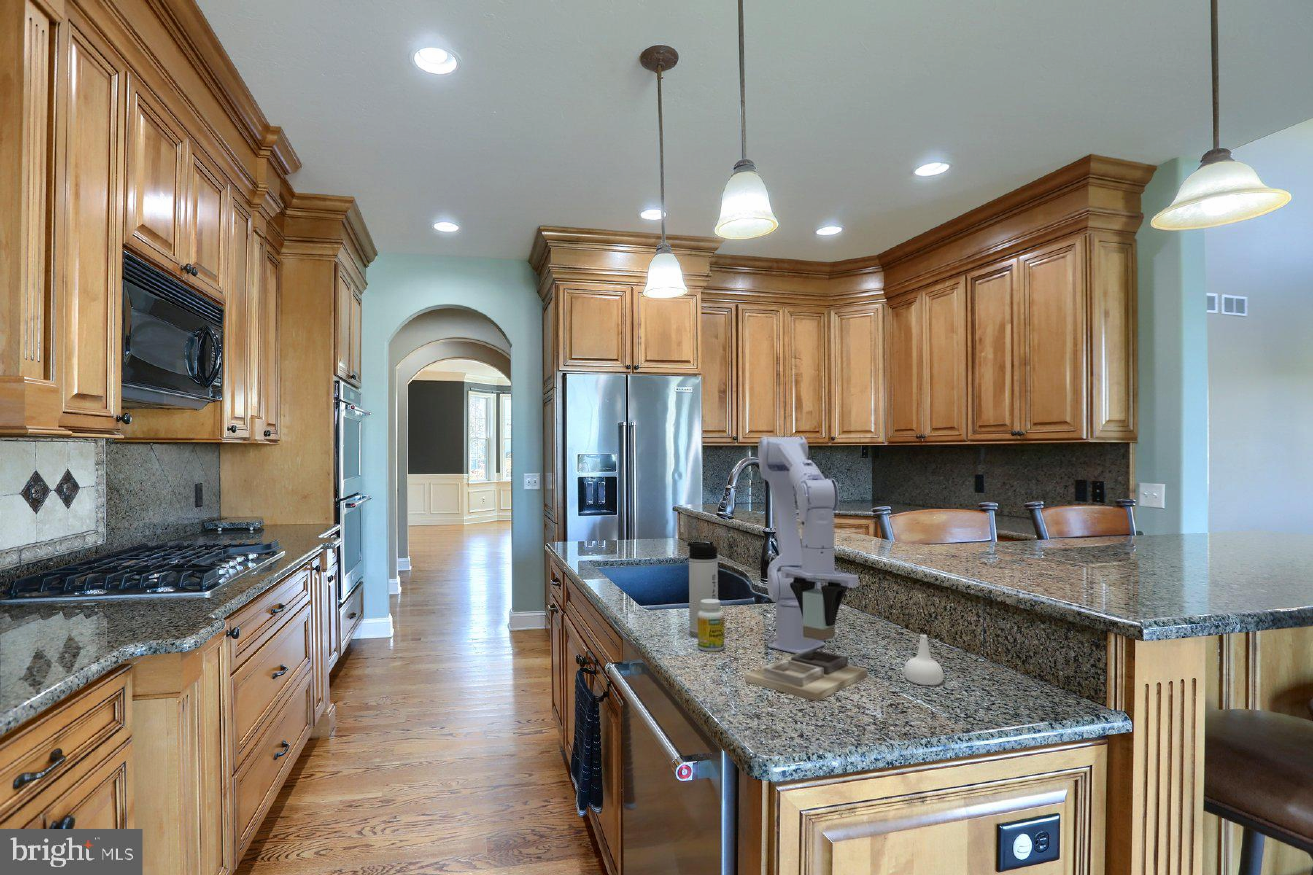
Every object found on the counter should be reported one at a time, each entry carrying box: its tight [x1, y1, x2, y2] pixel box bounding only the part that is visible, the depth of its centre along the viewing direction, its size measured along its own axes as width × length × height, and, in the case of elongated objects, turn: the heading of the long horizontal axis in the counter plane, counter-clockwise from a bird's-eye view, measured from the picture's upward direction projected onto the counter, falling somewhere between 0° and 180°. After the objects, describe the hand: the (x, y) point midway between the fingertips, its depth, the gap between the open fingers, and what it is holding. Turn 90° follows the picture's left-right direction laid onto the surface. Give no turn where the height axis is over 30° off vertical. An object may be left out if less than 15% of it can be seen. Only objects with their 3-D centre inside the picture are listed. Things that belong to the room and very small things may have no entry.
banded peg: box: [803, 589, 836, 642], centre depth 119 cm, size 4×4×8 cm
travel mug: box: [687, 541, 719, 639], centre depth 145 cm, size 6×7×20 cm
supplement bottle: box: [697, 599, 725, 653], centre depth 134 cm, size 5×5×10 cm
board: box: [744, 649, 869, 702], centre depth 115 cm, size 17×14×3 cm
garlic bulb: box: [903, 634, 944, 686], centre depth 114 cm, size 6×6×8 cm
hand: (818, 622), depth 119 cm, fingers closed on banded peg, 4 cm apart
